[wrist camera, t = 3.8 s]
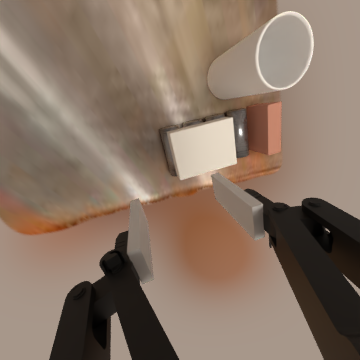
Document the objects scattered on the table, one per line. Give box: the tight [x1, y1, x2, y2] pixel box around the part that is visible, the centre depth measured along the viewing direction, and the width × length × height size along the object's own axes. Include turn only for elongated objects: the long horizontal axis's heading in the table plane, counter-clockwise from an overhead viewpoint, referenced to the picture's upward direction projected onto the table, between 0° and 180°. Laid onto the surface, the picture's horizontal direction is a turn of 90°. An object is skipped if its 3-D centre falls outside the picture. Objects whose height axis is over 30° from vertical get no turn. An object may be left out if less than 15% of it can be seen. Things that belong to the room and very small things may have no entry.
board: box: [167, 117, 237, 180], centre depth 34 cm, size 12×9×4 cm
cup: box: [207, 11, 314, 100], centre depth 29 cm, size 8×8×16 cm
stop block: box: [246, 102, 282, 155], centre depth 38 cm, size 3×10×7 cm, turn 12°
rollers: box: [159, 108, 249, 176], centre depth 38 cm, size 19×10×4 cm, turn 103°
